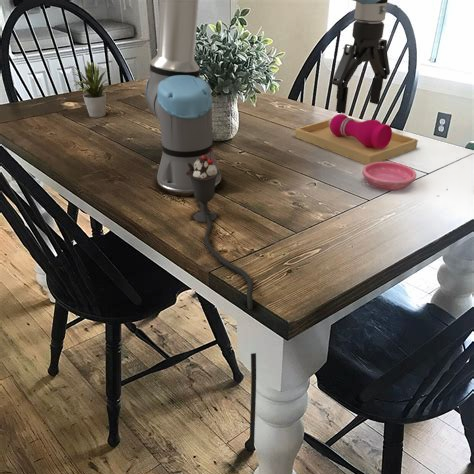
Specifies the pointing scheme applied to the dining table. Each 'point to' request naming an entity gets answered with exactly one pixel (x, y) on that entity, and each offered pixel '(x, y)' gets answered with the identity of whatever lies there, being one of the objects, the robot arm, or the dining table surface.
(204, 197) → the sundae
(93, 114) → the house plant
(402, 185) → the saucer
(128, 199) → the dining table surface
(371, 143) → the pepper mill
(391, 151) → the tray
